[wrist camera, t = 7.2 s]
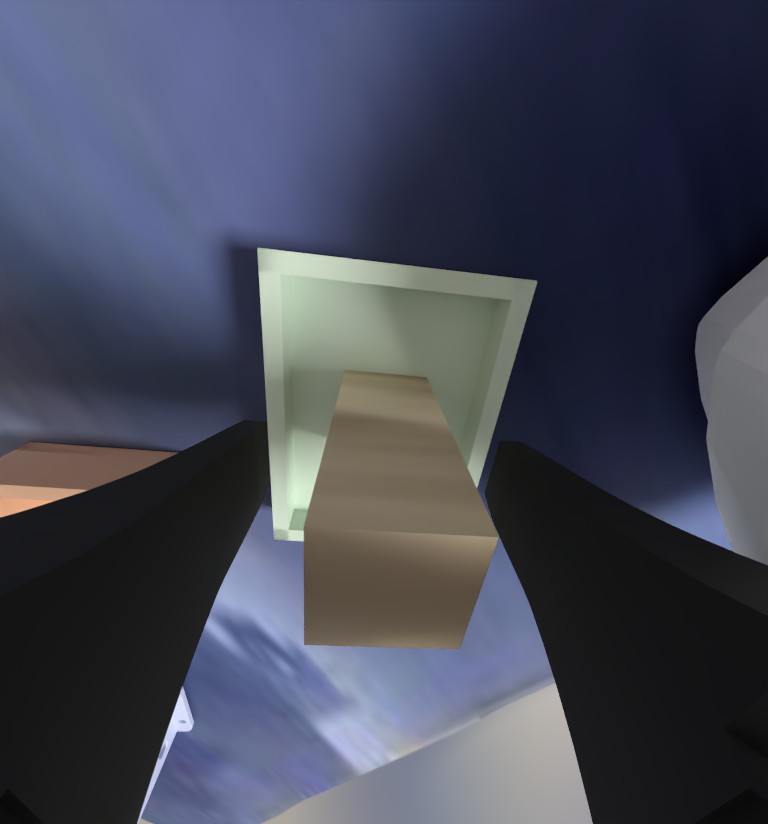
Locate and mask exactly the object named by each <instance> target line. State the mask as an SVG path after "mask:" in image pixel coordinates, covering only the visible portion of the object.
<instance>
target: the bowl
mask: <svg viewBox="0 0 768 824" xmlns="http://www.w3.org/2000/svg"><path fill="white" fill-rule="evenodd" d="M695 356H696V364H697V372H698V380H699V388H700V395H701V401H702V404H703V407H704V410H705V413H706V416H707V419H708V427H707V435H706V441H707V448H708V455H709V461H710V468H711V474H712V481H713V488H714V494H715V501H716V505H717V508H718V511H719V514H720V516H721V519H722V522H723V525H724V527H725V530H726V533H727V536H728V539H729V541H730V544H731V547H732V550H733V552H735V553H737V554H740V555H743V556H745V557H748V558H750V559H753V560H755V561H758V562H761V563H763V564H766V565H768V257H767V258H765V259H764V260H763V261H762V262H761V263H760V264H759V265H757V266H756V267H755V268H754V269H753V270H752V271H751V272H749V273H748V274H747V275H746V276H745V277H744V278H743V279H741V280H740V281H739V282H738V283H737V284H736V285H735V286H733V287H732V288H731V289H730V290H729V291H728V292H726V293H725V294H724V295H723V296H722V297H721V298H720V299H719V300H718V301H717V303H716V304H715V305H714V306H713V307H712V308H711V309H710V310H709V311H708V312H707V314H706V315H705V316H704V317H703V318H702V320H701V322H700V323H699V324H698V329H697V334H696V345H695Z"/></svg>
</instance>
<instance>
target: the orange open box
mask: <svg viewBox="0 0 768 824" xmlns="http://www.w3.org/2000/svg"><path fill="white" fill-rule="evenodd" d="M175 454H177V452H163V451H149V450H135V449H121V448H107V447H93V446H79V445H65V444H51V443H37V442H28V443H26V444H24V445H22V446H20V447H18V448H17V449H15V450H13V451H11V452H9V453H7V454H5V455H3V456H1V457H0V517H4V516H7V515H11V514H15V513H18V512H21V511H25V510H28V509H31V508H34V507H37V506H41V505H44V504H47V503H50V502H53V501H56V500H59V499H62V498H66V497H69V496H72V495H75V494H78V493H81V492H84V491H87V490H90V489H93V488H96V487H98V486H101V485H104V484H106V483H109V482H112V481H114V480H117V479H120V478H122V477H125V476H127V475H130V474H132V473H135V472H137V471H140V470H142V469H144V468H147V467H149V466H151V465H153V464H155V463H158V462H160V461H162V460H164V459H166V458H168V457H171V456H173V455H175Z"/></svg>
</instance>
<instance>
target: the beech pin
mask: <svg viewBox="0 0 768 824" xmlns="http://www.w3.org/2000/svg"><path fill="white" fill-rule="evenodd" d="M498 539H499V536H498V534H497V532H496V530H495V527H494V525H493V523H492V521H491V519H490V516H489V514H488V512H487V510H486V508H485V505H484V503H483V501H482V499H481V496H480V494H479V492H478V490H477V488H476V485H475V483H474V481H473V479H472V477H471V474H470V472H469V470H468V468H467V466H466V463H465V461H464V459H463V457H462V455H461V452H460V450H459V448H458V446H457V444H456V441H455V439H454V437H453V435H452V432H451V430H450V428H449V426H448V424H447V421H446V419H445V417H444V415H443V413H442V410H441V408H440V406H439V404H438V402H437V399H436V397H435V395H434V393H433V391H432V388H431V386H430V384H429V382H428V379H427V377H418V376H407V375H396V374H385V373H374V372H363V371H352V370H345V372H344V376H343V380H342V383H341V387H340V391H339V395H338V399H337V402H336V406H335V410H334V414H333V417H332V421H331V425H330V429H329V433H328V436H327V440H326V444H325V448H324V451H323V455H322V459H321V463H320V467H319V470H318V474H317V478H316V482H315V486H314V489H313V493H312V497H311V501H310V504H309V508H308V512H307V516H306V520H305V523H304V645H330V646H365V647H401V648H436V649H460V646H461V643H462V641H463V638H464V635H465V632H466V629H467V626H468V624H469V621H470V618H471V615H472V612H473V610H474V607H475V604H476V601H477V598H478V595H479V593H480V590H481V587H482V584H483V581H484V579H485V576H486V573H487V570H488V567H489V564H490V562H491V559H492V556H493V553H494V550H495V548H496V545H497V542H498Z"/></svg>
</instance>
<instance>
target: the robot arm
mask: <svg viewBox="0 0 768 824" xmlns="http://www.w3.org/2000/svg"><path fill="white" fill-rule="evenodd" d="M269 478H270V475H269V458H268V441H267V424H266V422H261V421H249V420H245V421H242V422H240V423H237V424H235V425H233V426H231V427H229V428H227V429H225V430H223V431H221V432H219V433H217V434H215V435H213V436H211V437H209V438H207V439H206V440H204V441H202V442H200V443H198V444H196V445H194V446H192V447H190V448H188V449H186V450H184V451H181V452H179V453H177V454H175V455H173V456H171V457H168V458H166V459H164V460H162V461H160V462H158V463H155V464H153V465H151V466H149V467H147V468H144V469H142V470H140V471H137V472H135V473H132V474H130V475H127V476H125V477H122V478H120V479H117V480H114V481H112V482H109V483H106V484H104V485H101V486H98V487H96V488H93V489H90V490H87V491H84V492H81V493H78V494H75V495H72V496H69V497H66V498H62V499H59V500H56V501H53V502H50V503H47V504H44V505H41V506H37V507H34V508H31V509H28V510H25V511H21V512H18V513H15V514H11V515H7V516H4V517H0V824H138V823H139V820H140V818H141V816H142V813H143V811H144V808H145V806H146V804H147V801H148V799H149V796H150V794H151V792H152V789H153V787H154V785H155V782H156V780H157V777H158V775H159V773H160V770H161V768H162V765H163V763H164V761H165V758H166V756H167V753H168V751H169V749H170V746H171V744H172V742H173V739H174V737H175V734H176V732H177V731H190V730H191V729H192V727H193V724H194V721H193V718H192V714H191V711H190V708H189V705H188V702H187V698H186V695H185V692H184V689H183V683H184V681H185V678H186V675H187V672H188V670H189V667H190V664H191V661H192V659H193V656H194V653H195V651H196V648H197V645H198V642H199V640H200V637H201V634H202V632H203V629H204V626H205V624H206V621H207V619H208V616H209V614H210V611H211V608H212V606H213V603H214V601H215V598H216V596H217V593H218V591H219V589H220V587H221V584H222V582H223V580H224V578H225V576H226V574H227V572H228V570H229V568H230V566H231V564H232V562H233V560H234V558H235V556H236V554H237V552H238V550H239V548H240V546H241V544H242V542H243V540H244V538H245V536H246V534H247V532H248V530H249V528H250V526H251V524H252V522H253V520H254V518H255V516H256V514H257V512H258V510H259V508H260V505H261V502H262V499H263V497H264V494H265V491H266V488H267V485H268V482H269ZM485 495H486V499H487V503H488V507H489V510H490V513H491V516H492V520H493V522H494V525H495V527H496V529H497V532H498V534H499V536H500V538H501V541H502V543H503V545H504V547H505V550H506V552H507V554H508V556H509V558H510V561H511V563H512V565H513V567H514V569H515V572H516V574H517V576H518V578H519V580H520V583H521V585H522V587H523V589H524V591H525V594H526V596H527V599H528V601H529V604H530V606H531V609H532V612H533V615H534V618H535V621H536V624H537V627H538V629H539V632H540V635H541V638H542V641H543V644H544V647H545V650H546V654H547V657H548V660H549V663H550V666H551V670H552V673H553V676H554V679H555V682H556V685H557V689H558V692H559V696H560V699H561V702H562V706H563V710H564V713H565V717H566V720H567V724H568V727H569V731H570V734H571V738H572V742H573V745H574V749H575V753H576V757H577V761H578V765H579V769H580V773H581V777H582V781H583V785H584V789H585V793H586V796H587V801H588V805H589V809H590V813H591V817H592V822H593V824H768V565H766V564H763V563H761V562H758V561H755V560H753V559H750V558H748V557H745V556H743V555H740V554H737V553H735V552H733V551H730V550H728V549H725V548H723V547H721V546H718V545H716V544H713V543H711V542H709V541H706V540H704V539H701V538H699V537H697V536H694V535H692V534H690V533H688V532H685V531H683V530H681V529H679V528H677V527H674V526H672V525H670V524H668V523H666V522H664V521H662V520H660V519H658V518H656V517H654V516H651V515H649V514H647V513H645V512H643V511H641V510H639V509H637V508H635V507H633V506H631V505H629V504H628V503H626V502H624V501H622V500H620V499H618V498H617V497H615V496H613V495H611V494H609V493H607V492H606V491H604V490H602V489H600V488H598V487H597V486H595V485H593V484H592V483H590V482H588V481H586V480H585V479H583V478H581V477H580V476H578V475H576V474H575V473H573V472H571V471H570V470H568V469H566V468H565V467H563V466H561V465H560V464H558V463H556V462H555V461H553V460H551V459H550V458H548V457H547V456H545V455H543V454H541V453H540V452H538V451H536V450H534V449H533V448H531V447H529V446H527V445H525V444H523V443H520V442H513V441H500V444H499V447H498V450H497V454H496V457H495V460H494V463H493V467H492V470H491V473H490V477H489V480H488V483H487V486H486V490H485Z"/></svg>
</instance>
